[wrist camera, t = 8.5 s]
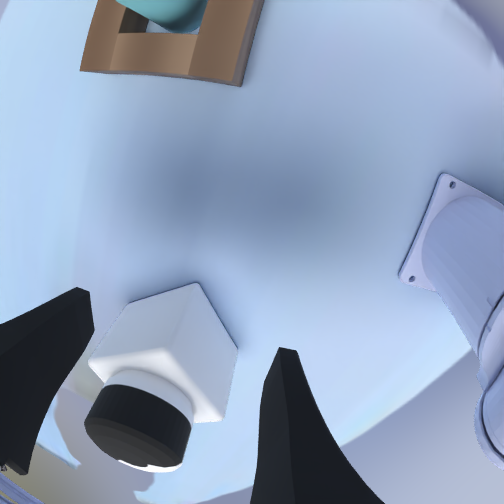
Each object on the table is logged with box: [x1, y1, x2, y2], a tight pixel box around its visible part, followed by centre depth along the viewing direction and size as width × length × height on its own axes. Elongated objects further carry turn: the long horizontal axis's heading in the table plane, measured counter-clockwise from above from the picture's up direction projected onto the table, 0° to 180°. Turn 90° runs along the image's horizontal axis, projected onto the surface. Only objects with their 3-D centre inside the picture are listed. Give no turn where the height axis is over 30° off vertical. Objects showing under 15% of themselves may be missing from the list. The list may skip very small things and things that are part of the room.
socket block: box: [80, 0, 264, 87], centre depth 11 cm, size 9×9×3 cm
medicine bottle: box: [84, 283, 238, 472], centre depth 18 cm, size 7×7×12 cm
